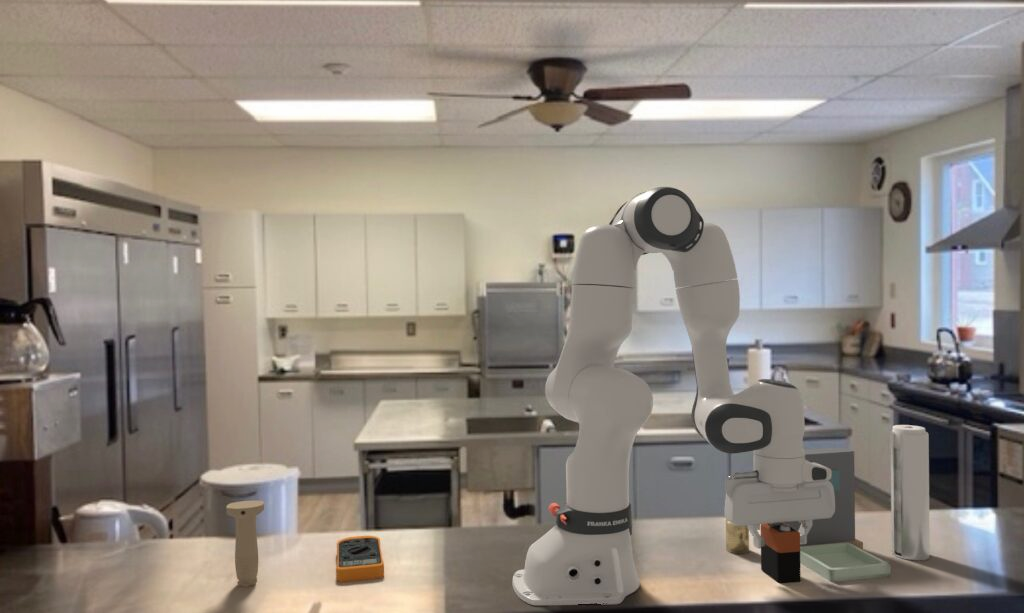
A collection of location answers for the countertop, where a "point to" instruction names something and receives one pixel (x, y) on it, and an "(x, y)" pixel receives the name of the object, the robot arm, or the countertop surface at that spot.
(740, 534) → the yellow translucent cylinder
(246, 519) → the handle
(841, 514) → the control unit
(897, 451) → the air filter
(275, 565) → the countertop surface
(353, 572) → the multimeter
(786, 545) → the battery
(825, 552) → the tray
